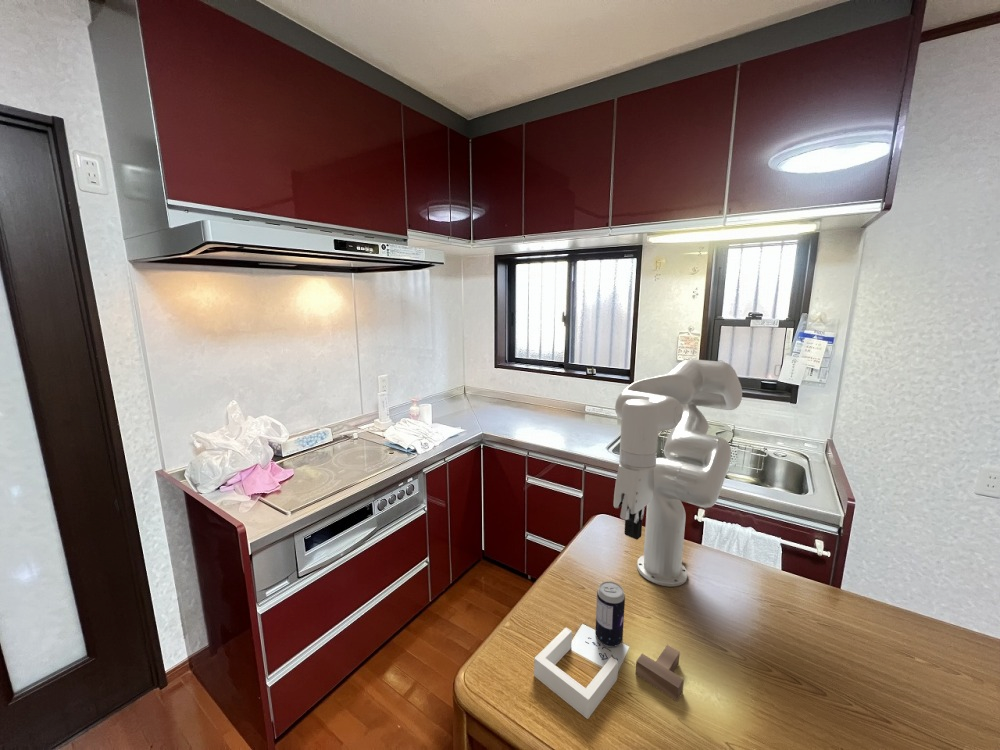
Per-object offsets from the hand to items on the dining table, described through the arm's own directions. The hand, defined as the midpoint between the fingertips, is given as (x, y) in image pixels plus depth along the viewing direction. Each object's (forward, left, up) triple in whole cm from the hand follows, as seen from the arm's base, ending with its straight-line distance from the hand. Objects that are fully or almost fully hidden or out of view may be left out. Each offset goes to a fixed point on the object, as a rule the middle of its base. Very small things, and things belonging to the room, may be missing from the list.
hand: (632, 535), depth 90 cm
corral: (+22, 0, -20) cm, 30 cm away
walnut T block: (+9, +12, -20) cm, 25 cm away
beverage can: (+9, 0, -21) cm, 22 cm away
